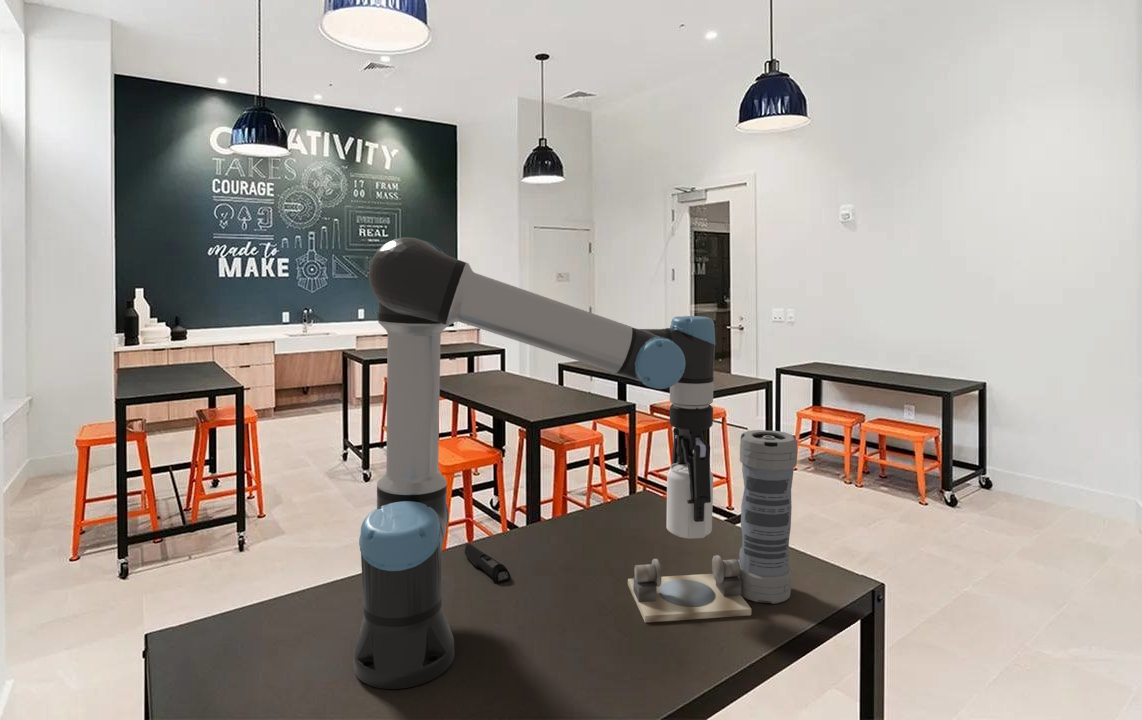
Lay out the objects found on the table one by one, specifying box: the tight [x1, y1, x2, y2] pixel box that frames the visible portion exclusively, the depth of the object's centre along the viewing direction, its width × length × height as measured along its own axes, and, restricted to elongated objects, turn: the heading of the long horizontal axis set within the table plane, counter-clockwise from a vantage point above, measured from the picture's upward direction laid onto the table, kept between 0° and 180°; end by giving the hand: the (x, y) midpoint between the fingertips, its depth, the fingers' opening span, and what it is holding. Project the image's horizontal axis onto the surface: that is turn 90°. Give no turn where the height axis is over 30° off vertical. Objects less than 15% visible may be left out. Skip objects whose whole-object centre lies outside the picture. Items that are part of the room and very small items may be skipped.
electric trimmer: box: [464, 543, 512, 585], centre depth 135 cm, size 4×16×3 cm, turn 34°
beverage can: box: [665, 463, 714, 539], centre depth 120 cm, size 8×8×12 cm
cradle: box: [627, 554, 752, 624], centre depth 122 cm, size 19×14×8 cm
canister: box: [737, 429, 799, 605], centre depth 123 cm, size 10×10×30 cm
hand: (688, 527), depth 120 cm, fingers closed on beverage can, 8 cm apart
